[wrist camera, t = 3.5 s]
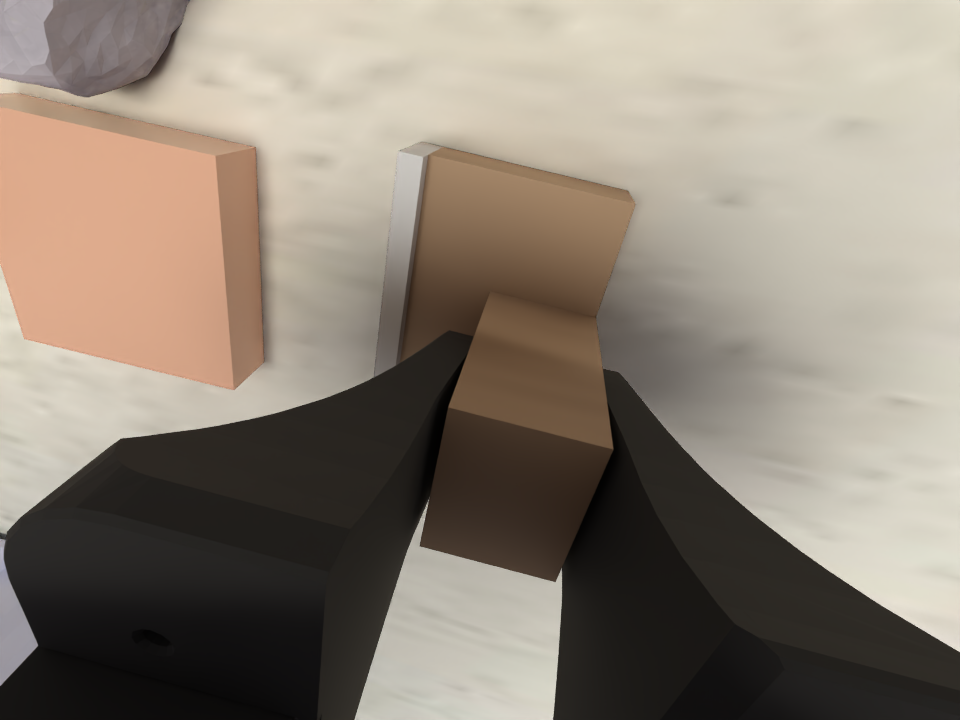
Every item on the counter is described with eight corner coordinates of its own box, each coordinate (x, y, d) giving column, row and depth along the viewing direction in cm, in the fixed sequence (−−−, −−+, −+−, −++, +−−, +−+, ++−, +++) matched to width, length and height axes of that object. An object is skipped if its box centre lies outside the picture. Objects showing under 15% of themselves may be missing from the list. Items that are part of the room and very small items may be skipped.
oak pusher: (536, 460, 15) (520, 661, 10) (385, 422, 15) (290, 598, 10) (627, 190, 11) (685, 286, 6) (421, 142, 11) (294, 190, 6)
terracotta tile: (271, 355, 15) (233, 390, 13) (85, 310, 15) (23, 338, 14) (264, 145, 12) (215, 155, 10) (32, 92, 12) (-54, 94, 11)
